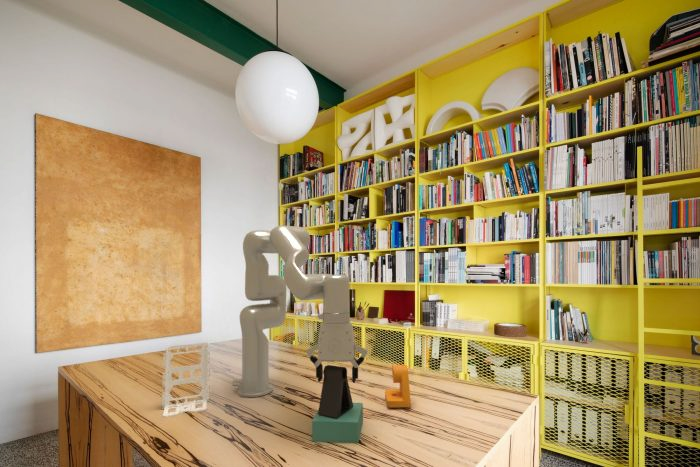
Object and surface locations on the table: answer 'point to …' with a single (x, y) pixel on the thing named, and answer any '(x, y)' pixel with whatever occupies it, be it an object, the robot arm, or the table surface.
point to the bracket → (399, 395)
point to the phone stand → (335, 393)
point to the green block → (339, 426)
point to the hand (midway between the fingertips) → (337, 380)
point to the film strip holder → (185, 381)
